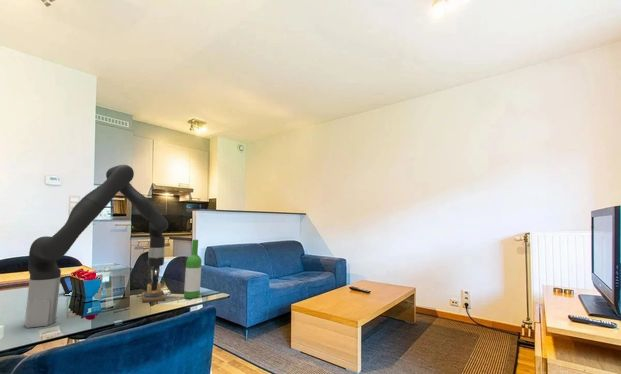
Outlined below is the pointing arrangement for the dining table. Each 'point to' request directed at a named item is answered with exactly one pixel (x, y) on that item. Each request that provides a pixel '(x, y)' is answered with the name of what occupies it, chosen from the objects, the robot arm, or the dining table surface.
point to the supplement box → (97, 295)
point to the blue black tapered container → (67, 284)
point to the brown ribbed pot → (149, 288)
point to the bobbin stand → (153, 297)
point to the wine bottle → (193, 273)
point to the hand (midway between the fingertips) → (153, 288)
